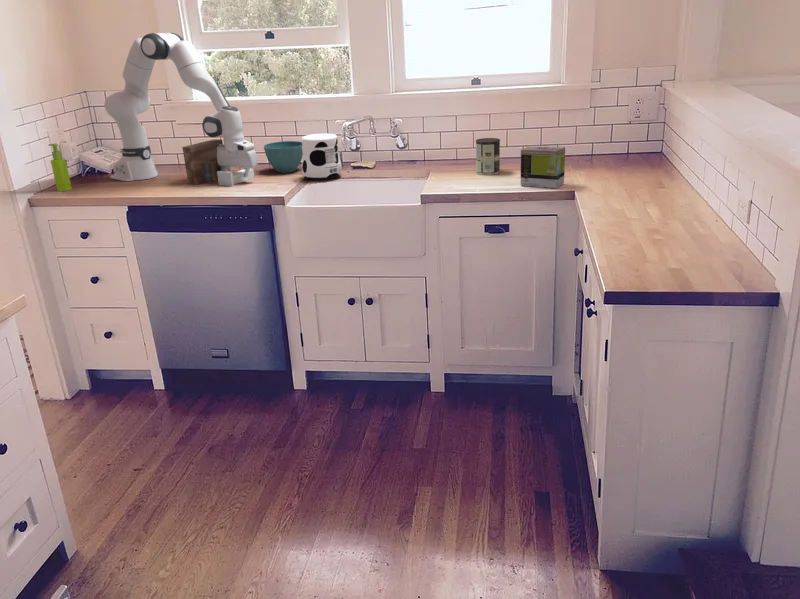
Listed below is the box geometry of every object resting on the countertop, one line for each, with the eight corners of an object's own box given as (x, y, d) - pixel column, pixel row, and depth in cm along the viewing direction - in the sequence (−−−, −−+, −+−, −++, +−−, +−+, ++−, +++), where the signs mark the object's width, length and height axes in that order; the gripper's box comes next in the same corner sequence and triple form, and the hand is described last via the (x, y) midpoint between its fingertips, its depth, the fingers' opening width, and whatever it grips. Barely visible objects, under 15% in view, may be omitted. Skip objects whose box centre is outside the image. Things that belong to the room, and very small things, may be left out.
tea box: (564, 183, 278) (566, 146, 273) (556, 189, 271) (557, 151, 265) (528, 180, 286) (529, 144, 280) (519, 186, 278) (520, 148, 272)
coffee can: (492, 169, 309) (492, 136, 304) (504, 173, 301) (504, 140, 295) (471, 171, 306) (471, 139, 301) (482, 176, 297) (482, 142, 292)
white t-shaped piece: (232, 186, 301) (230, 172, 299) (218, 185, 304) (216, 171, 302) (257, 177, 315) (256, 164, 313) (244, 176, 318) (242, 163, 316)
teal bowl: (314, 168, 327) (311, 142, 323) (286, 176, 314) (283, 149, 309) (286, 165, 338) (284, 139, 333) (258, 172, 324) (255, 146, 320)
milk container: (309, 173, 318) (305, 133, 311) (346, 173, 315) (343, 132, 308) (298, 182, 303) (293, 140, 296) (336, 182, 299) (333, 139, 293)
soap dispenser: (66, 187, 314) (56, 142, 307) (74, 188, 310) (64, 143, 302) (53, 189, 310) (43, 144, 302) (61, 191, 306) (50, 145, 298)
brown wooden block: (188, 183, 310) (182, 147, 304) (218, 173, 326) (213, 139, 320) (202, 184, 306) (196, 147, 300) (232, 175, 322) (227, 139, 316)
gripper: (211, 145, 306) (216, 176, 311) (248, 147, 297) (252, 179, 302) (221, 142, 311) (225, 173, 316) (257, 144, 302) (261, 176, 307)
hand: (238, 176), depth 309 cm, fingers open, 7 cm apart
